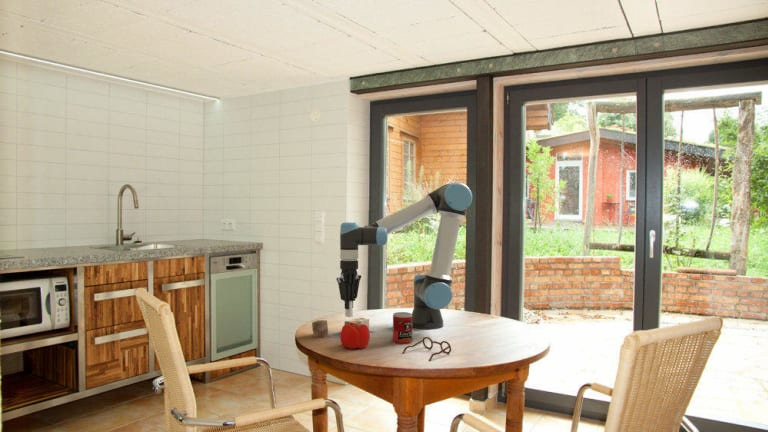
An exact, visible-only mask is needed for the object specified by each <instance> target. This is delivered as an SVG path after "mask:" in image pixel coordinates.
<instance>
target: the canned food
mask: <svg viewBox="0 0 768 432" xmlns="http://www.w3.org/2000/svg"><path fill="white" fill-rule="evenodd" d="M392 341H393V342H394V343H395V344H399V345H408V344H411V343H412V341H413V327H412V312H406V311H397V312H394V313H392Z"/></svg>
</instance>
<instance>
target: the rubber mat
mask: <svg viewBox="0 0 768 432" xmlns="http://www.w3.org/2000/svg"><path fill="white" fill-rule="evenodd" d="M369 333H370V334H373V333H375V331H374V330H369ZM340 335H341V331H339V332H334V333H330V334H328V335H327V336H326V337H328V338H333V339H337V340H340Z"/></svg>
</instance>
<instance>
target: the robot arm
mask: <svg viewBox="0 0 768 432" xmlns="http://www.w3.org/2000/svg"><path fill="white" fill-rule="evenodd" d="M472 202H473V193H472V191H471V189H470V187H468V185H466V184H464V183H462V182H451V183H446V184H443V185H440V186H439V187H438V188H436V189H435V190H433V191H431V192H430V193H427V194H426V195H425V197H424V198H422V199H420V200H418V201H416V202H414V203H411V204H410V205H408V206H405V207H404V208H401V209H400V210H397V211H395V212H393V213H391V214H389V215H387V216H385V217H383V218H380V219H379V220H377V221H375V222H373V223H370V224H368V225H365V226H359V223H358V222H351V221H350V222H348V221H347V222H342V223H341V224H340V230H339V231H340V232H339V240H340V241H339V245H340V246H339V247H340V248H339V249H340V250H339V251H340V253H339V254H340V255H339V258H340V261H339V268H340V271H341V273H340V276H339V277H336V282H337V284H338V290H339V296H340V300H341V301H342V302H343V301H344V309H345V310H344V311H345V315H344V317H347V318H353V316H354V315H353V313H354V312H353V310H354V309H353V308H354V302H355V301H356V299H357V298H358V293H359V287H360V282H361V279H362V275H360V274H358V271H357V270H358V269H359V260H358V259H359V246H385V245H386V244H387V243H388V235H390V234H392V233H393V232H396V231H398V230H400V229H402V228H404V227H407V226H409V225H411V224H412V223H414V222H417V221H419V220H422V219H423V218H426V217H427V216H429V215H432V214H433V215H436V214H438V213H439V215H440V218H439V224H438V229H437V234H436V239H435V244H434V248H433V254H432V259H431V263H430V267H429V268H430V269H429V270H428V271H427V272H426V273H425V274H417V275H414V280H413V310H412V312H411V314H412V328H417V329H424V330H425V329H426V330H432V329H433V330H434V329H439V328H442V327H444V319H443V316H442V312H441V310H442V309H445V308H447V307H448V306H449V305H450V304H451V302H452V298H453V291H452V288H451V287H452V284H453V283H452V282H453V279H452V276H451V271H452V265H453V260H454V254H455V250H456V245H457V241H458V235H459V231H460V227H461V220H462V219H464V218H466V214H467V211H468V208H469V207H470V206H471V205H472Z"/></svg>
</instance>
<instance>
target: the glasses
mask: <svg viewBox="0 0 768 432" xmlns="http://www.w3.org/2000/svg"><path fill="white" fill-rule="evenodd" d="M425 339H426V340H428V341H430V345H431V346H430V347H428V346H427V345H426V342H425ZM421 343H422V344H423V346H424V348H426V349H429V350H432V349H433V347H434V344H436V345H439V347H440V350H439V351H437V352H434V353H432V354H431V355H430V357H429V359H428V362H431V361H432V359H433V357H434V356H436V355H440V354H442V353H444V354H450V353H451V352H452V347H451V345H450V343H449V341H447V340H443V341H441V342H438V341H436V340H434V341H433V340H432V338H430V337H429V336H424V337H423V338H422V339H421V340H419V341H417V342H416V343H414V344H412V345H407V346H405V347H404V349H403V351H402V353H401V354H402V355H404V354H405V352H406V351H407V349H408V348H414V347H416V346H418V345H419V344H421ZM443 344H446V345H447V346H446V347H444V348H443ZM448 349H449V350H448ZM446 350H448V351H446Z"/></svg>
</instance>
